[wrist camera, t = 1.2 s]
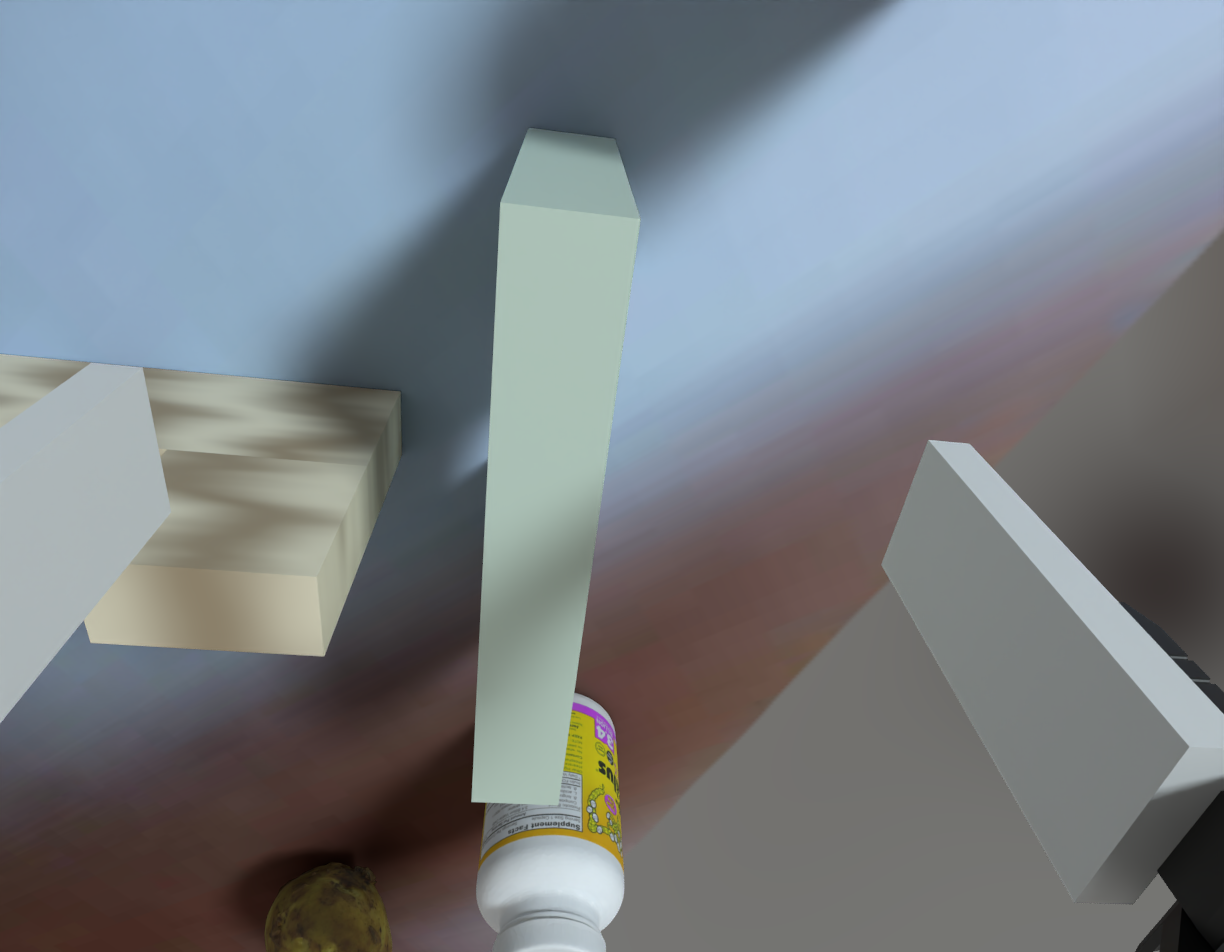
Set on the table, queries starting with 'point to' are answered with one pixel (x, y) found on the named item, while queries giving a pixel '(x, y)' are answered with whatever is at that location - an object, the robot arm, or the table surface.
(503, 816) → the supplement bottle
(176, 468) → the notched wooden block
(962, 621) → the robot arm
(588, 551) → the sage slat
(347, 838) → the table surface
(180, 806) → the table surface
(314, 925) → the potato
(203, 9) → the table surface
